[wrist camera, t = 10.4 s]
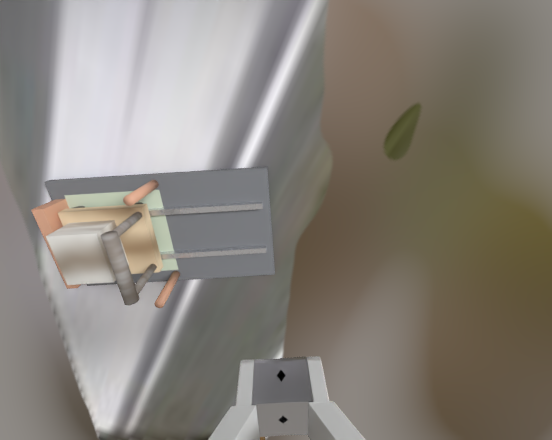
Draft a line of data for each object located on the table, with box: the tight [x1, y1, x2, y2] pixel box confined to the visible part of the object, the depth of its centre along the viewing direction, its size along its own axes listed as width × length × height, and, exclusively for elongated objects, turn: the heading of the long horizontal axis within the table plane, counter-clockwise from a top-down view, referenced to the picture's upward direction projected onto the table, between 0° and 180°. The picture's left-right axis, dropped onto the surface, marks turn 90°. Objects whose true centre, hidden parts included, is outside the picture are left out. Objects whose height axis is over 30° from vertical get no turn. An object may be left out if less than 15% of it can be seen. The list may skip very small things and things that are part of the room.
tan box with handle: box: [46, 202, 164, 305], centre depth 34 cm, size 10×11×10 cm
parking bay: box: [32, 180, 180, 308], centre depth 36 cm, size 16×15×7 cm
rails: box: [148, 201, 266, 259], centre depth 38 cm, size 8×28×1 cm, turn 93°
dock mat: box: [45, 167, 275, 286], centre depth 39 cm, size 17×30×1 cm, turn 93°
